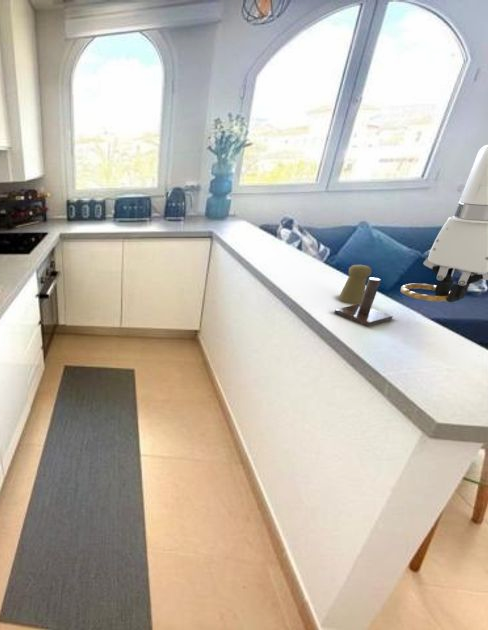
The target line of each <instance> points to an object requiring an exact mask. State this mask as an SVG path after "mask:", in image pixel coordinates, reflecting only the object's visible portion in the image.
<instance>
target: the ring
mask: <svg viewBox="0 0 488 630" xmlns="http://www.w3.org/2000/svg"><path fill="white" fill-rule="evenodd" d="M436 286H437V284H436V285H435V284H428V283H408V284H407V283H406V284H403V285H402V286H400V293H401V294H402V295H405V296H407V297H409V298H413V299H416V300H420V301H421V300H422V301H428V302H448V301H447V299H448V296H449V294H450V292H451V289H450V291H449V294H448V295H446V296H435V295H432V294H423V293H420V292H416V291H412V290H414V289H415V290H416V289H418V290H419V289H420V290H427V291H433V292H435V289H436ZM411 289H412V290H411Z"/></svg>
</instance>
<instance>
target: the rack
mask: <svg viewBox="0 0 488 630" xmlns="http://www.w3.org/2000/svg"><path fill="white" fill-rule="evenodd" d="M380 283H381V279H380V278H378V277H369V278H368V279H367V282H366V286H365V292H364V295H363V298H362V301H361V303H360V304H351V305H348V306H344V307H340V308H336V309H335V310H334V314H336V315H338V316H340V317H343V318H345V319H347V320H349V321H353V322H355V323H358V324H359V325H360V324H361V325H363V326H365V327H371V326H374V325H377V324H381V323H385V322H389V321H392V319H393V317H394V316H393V315H391V314H388V313H385V312H382V311H380V310H377V309H374V308H372V307H373V303H374V301H375V297H376V295H377V292H378V290H379V287H380Z"/></svg>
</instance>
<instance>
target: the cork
mask: <svg viewBox="0 0 488 630" xmlns="http://www.w3.org/2000/svg"><path fill="white" fill-rule="evenodd" d="M371 274H372V268H371V267H370V266H368V265H364V264H353V265H351V266H350V267H349V268H348V275H349V276H348V277H347V280H346V282H345V284H344V286H343V287H342V290H341V291H340V294H339V295H338V300H339V301H340V302H343V303H347V304H351V305H356V304H361V301H362V298H363V295H364V292H365V289H366V286H367V281H368V277H369V278H370V276H371Z"/></svg>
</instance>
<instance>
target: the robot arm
mask: <svg viewBox="0 0 488 630" xmlns="http://www.w3.org/2000/svg"><path fill="white" fill-rule="evenodd" d="M422 264H423V266H425V267H427V268H429V269H431V270H432V271H433V273H434V274H435V275H436V280H437V284H436V289H435V291H434V296H446V295H448V294H449V291H450V290H451V292H450V294H449V296H448V299H447V301H446V302H449V303H454V302H457V301H460V300H462V299H464V297H465V296H466V294H467V292H468V289H469V287H470V285H471V284H474V283H476V282H479V281H488V144H486V145H484V146H483V147H481V148H480V149H479V151H478V152H477V154H476V157H475V160H474V162H473V165H472V167H471V170H470V173H469V176H468V178H467V180H466V183H465V186H464V189H463V191H462V193H461V196H460V199H459V202H458V203H457V206H456V208H455V211H454V214H453V215H452V216H450V217H448V218H447V220H446V221H445V223H444V224H443V225H442V227H441V229H440V230H439V231H438V234H437V236H436V238H435V239H434V241H433V244H432V246H431V248H430V251H429V253H428V256H427V258H426V259H425V260H424V261H423V263H422ZM455 270H459V271H462V273H461V274H460V277H459V279H458V281H457V282H456V283H454V282H455V280H454V278H453V276H454V273H455Z"/></svg>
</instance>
